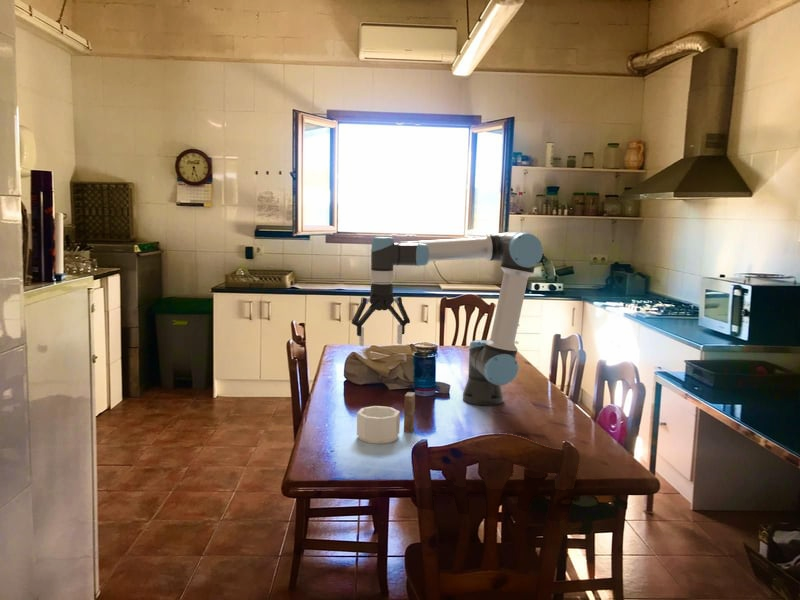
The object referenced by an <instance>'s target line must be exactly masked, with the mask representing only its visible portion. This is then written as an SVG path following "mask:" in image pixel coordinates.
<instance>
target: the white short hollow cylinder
mask: <svg viewBox="0 0 800 600" xmlns="http://www.w3.org/2000/svg"><path fill="white" fill-rule="evenodd" d="M400 416H401V411H400V410H398V409H395V408H394V407H391V406H384V405H383V406H382V405H372V406H366V407H361V408H360V409H359V411H357V412H356V436H357V437H358V439H359V440H360V441H361V442H364V443H367V444H373V445H383V444H385V445H386V444H391V443H394V442H395V441H397V440H398V438H399V434H400V425H401V424H400V423H401V420H400V419H401V417H400Z"/></svg>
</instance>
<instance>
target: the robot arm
mask: <svg viewBox="0 0 800 600" xmlns="http://www.w3.org/2000/svg"><path fill="white" fill-rule="evenodd" d="M543 247H544V246H543V244H542V242H541V240H540V239H539V238H538V237H537V236H536V235H534V234H533V233H530V232H527V231H516V230H513V231H506V232H500V233H492V234H486V235H485V236H484V237H471V238H470V237H468V238H466V237H465V238H449V239H448V238H447V239H431V240H429V239H428V240H411V241H410V240H409V241H408V240H407V241H406V240H400V241H397V242H395V238H394V237H390V236H374V237H373V238H372V239H371V248H370V249H371V250H370V252H371V253H370V263H371V264H370V267H371V268H370V282H371V283H370V297H364V296H362V297H361V299H360V303H359V306H358V308H357V310H356V312H355V314H354V316H353V318H352V320H351V324H352V325H354V326H356V336H358V338H359V343H358V344H359V346H360V347H364V346H365V345H364V344H365V340H364V339H365V327H364V326H363V325H364V324H365V323H366V321H367V320H368V319H369V318H370V316H371V315H372V314H373V313H374V312H376V311H378V312H379V311H389V312H390V314H392V315H393V317H394V318H395V319H396V320H397V322H398V323H399V324H397V327H396V328H397V331H396V332H397V334H396V335H397V336H396V343H397V344H398V345H402V344H403V335H405V333H406V332H405V331H406V330H405V329H406V328H405V327H406V325H408V324H410V323H411V319H410V318H409V316H408V313H407V311H406V309H405V307H404V305H403V298H402V296H397V295H396V296H395V297H394V296H393V294H394V293H393V292H394V284H393V282H394V266H410V267H411V266H414V267H415V266H417V267H420V266H426V265H428V263H429V262H436V261H437V262H438V261H455V260H456V261H458V260H477V259H479V260H480V259H485V260H486V261H488V262H493V261H496V262H501V264H500V269H501V270H502V272H503V276H502V281H501V285H500V291H499V296H498V299H497V303H496V304H497V305H496V308H495V309H496V310H495V315H494V320H493V323H492V324H493V325H492V328H491V334H490V338H489V339H488V340H487V339H486V340H485V339H482V340H481V339H479V340H471V342H469V348H468V352H469V354H468V376H467V377H468V378H467V382H466V385H465V387H464V390H463V393H462V400H463V402H465V403H468V404H470V405H475V406H476V405H477V406H483V407H484V406H497V405H501V404H503V402H504V394H503V391H502V387H501V386H505V385H508V384H510V383H511V382H513V381H514V380H515V379H516V377H517V376H518V373H519V364H518V361H517V359H516V358H517V353H518V348H517V346H516V345H515V342H516V337H517V332H518V327H519V323H520V317H521V313H522V310H523V303H524V298H525V294H526V288H527V284H528V279H529V277H531V276H532V275H533V274H534V273H535V268H536V265H537V264H538V263H540V262H541V260H542V258H543V255H544V248H543ZM394 302H395V304H396V305H397V308H398V310H399V312H400V314H401V316H402V317H401V316H400V314H399V313H398V312H397V311H396V309H395V307H393V306H392V304H393V303H394ZM368 303H370V305H369V307H368V308H367V310H366V311H365V308H366V306H367V305H368ZM364 311H365V313H364ZM363 313H364V314H363ZM402 318H403V319H402Z"/></svg>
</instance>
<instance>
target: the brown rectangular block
mask: <svg viewBox="0 0 800 600" xmlns="http://www.w3.org/2000/svg"><path fill="white" fill-rule="evenodd" d="M403 405H404V407H403V408H404V410H403V412H404V413H403V433H410V434H411V433H412V432H414V429H415V412H416V411H415V409H416V392H412V391H408V392H406V394H404V404H403Z"/></svg>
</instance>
